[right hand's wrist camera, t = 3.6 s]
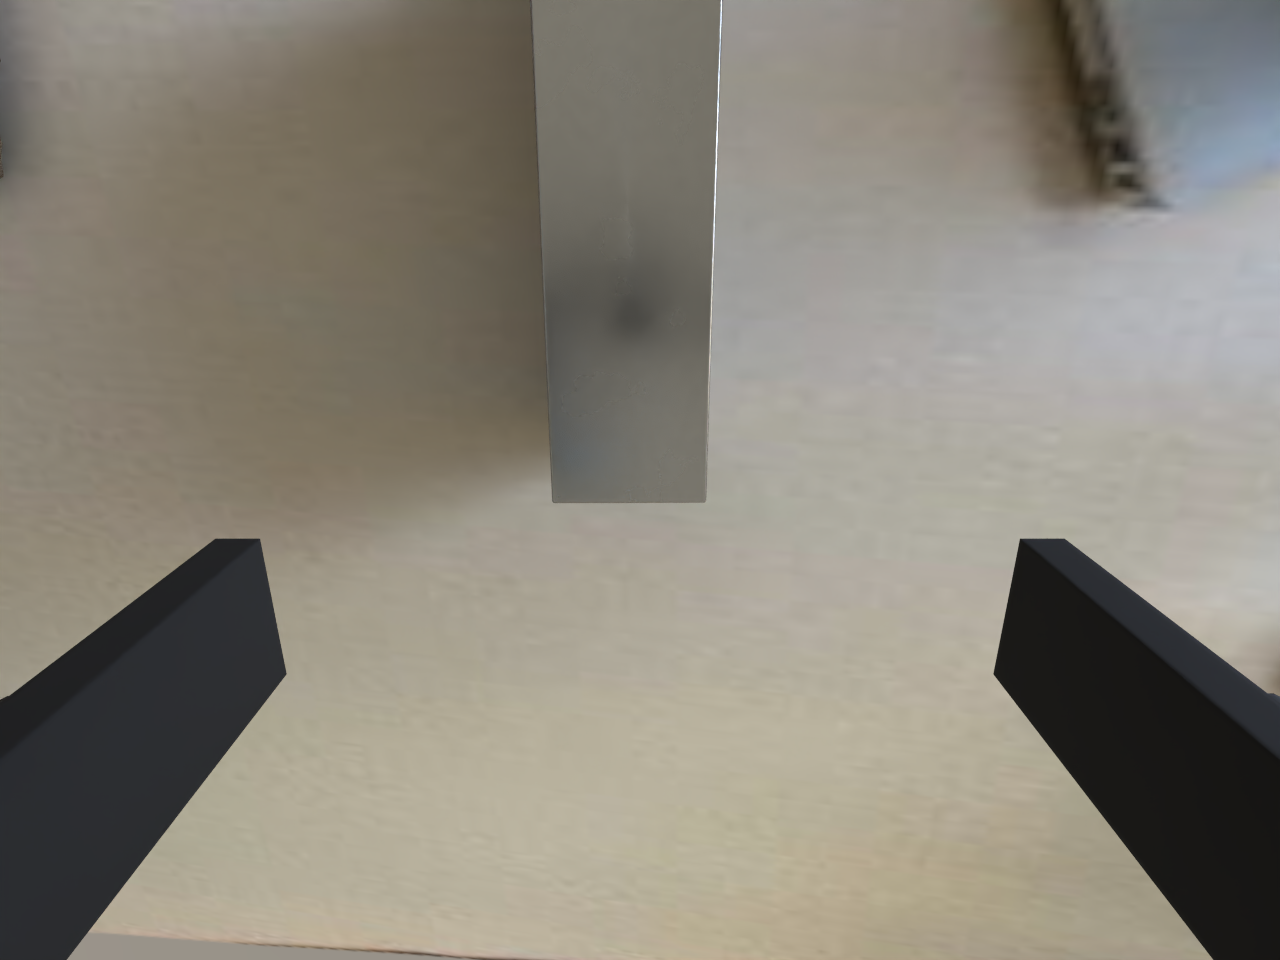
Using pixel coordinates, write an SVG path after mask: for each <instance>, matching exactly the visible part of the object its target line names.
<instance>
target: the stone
mask: <svg viewBox="0 0 1280 960" xmlns="http://www.w3.org/2000/svg"><path fill="white" fill-rule="evenodd" d="M0 62H1V60H0ZM1 151H2V142H1V140H0V179H1V178H2V177H3V168H2V162H1Z"/></svg>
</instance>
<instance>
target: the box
mask: <svg viewBox="0 0 1280 960" xmlns="http://www.w3.org/2000/svg"><path fill="white" fill-rule="evenodd" d="M722 5H723V0H530V9H531V31H532V54H533V76H534V99H535V122H536V144H537V167H538V189H539V212H540V234H541V257H542V280H543V302H544V325H545V347H546V370H547V393H548V415H549V438H550V460H551V483H552V501H553V503H700V502H705V501H706V485H707V455H708V425H709V395H710V365H711V335H712V305H713V275H714V245H715V215H716V185H717V155H718V125H719V95H720V65H721V35H722Z"/></svg>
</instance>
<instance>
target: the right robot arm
mask: <svg viewBox="0 0 1280 960" xmlns="http://www.w3.org/2000/svg"><path fill="white" fill-rule="evenodd" d="M285 675H286V669H285V664H284V659H283V654H282V649H281V644H280V639H279V634H278V628H277V623H276V618H275V613H274V608H273V603H272V598H271V593H270V588H269V583H268V578H267V572H266V567H265V562H264V557H263V552H262V547H261V542H260V539H215V540H213V541H212V542H211V543H209V544H208V545H207V546H205V547H204V548H203V549H201V550H200V551H199V552H198V553H196V554H195V555H194V556H192V557H191V558H190V559H188V560H187V561H186V562H184V563H183V564H182V565H180V566H179V567H178V568H177V569H175V570H174V571H173V572H171V573H170V574H169V575H167V576H166V577H165V578H163V579H162V580H161V581H159V582H158V583H157V584H156V585H154V586H153V587H152V588H150V589H149V590H148V591H146V592H145V593H144V594H142V595H141V596H140V597H138V598H137V599H136V600H135V601H133V602H132V603H131V604H129V605H128V606H127V607H125V608H124V609H123V610H121V611H120V612H119V613H117V614H116V615H115V616H114V617H112V618H111V619H110V620H108V621H107V622H106V623H104V624H103V625H102V626H100V627H99V628H98V629H97V630H95V631H94V632H93V633H91V634H90V635H89V636H87V637H86V638H85V639H83V640H82V641H81V642H79V643H78V644H77V645H76V646H74V647H73V648H72V649H70V650H69V651H68V652H66V653H65V654H64V655H62V656H61V657H60V658H58V659H57V660H56V661H55V662H53V663H52V664H51V665H49V666H48V667H47V668H45V669H44V670H43V671H41V672H40V673H39V674H37V675H36V676H35V677H34V678H32V679H31V680H30V681H28V682H27V683H26V684H24V685H23V686H22V687H20V688H19V689H18V690H16V691H15V692H14V693H13V694H11V695H10V696H7V697H5V698H3V699H1V700H0V960H67V959H68V957H69V956H70V955H71V953H72V952H73V951H74V949H75V948H76V947H77V946H78V944H79V943H80V942H81V940H82V939H83V938H84V936H85V935H86V934H87V933H88V931H89V930H90V929H91V927H92V926H93V925H94V923H95V922H96V921H97V920H98V918H99V917H100V916H101V914H102V913H103V912H104V911H105V909H106V908H107V907H108V905H109V904H110V903H111V901H112V900H113V899H114V898H115V896H116V895H117V894H118V892H119V891H120V890H121V888H122V887H123V886H124V885H125V883H126V882H127V881H128V879H129V878H130V877H131V875H132V874H133V873H134V872H135V870H136V869H137V868H138V866H139V865H140V864H141V862H142V861H143V860H144V859H145V857H146V856H147V855H148V853H149V852H150V851H151V849H152V848H153V847H154V846H155V844H156V843H157V842H158V840H159V839H160V838H161V836H162V835H163V834H164V833H165V831H166V830H167V829H168V827H169V826H170V825H171V824H172V822H173V821H174V820H175V818H176V817H177V816H178V814H179V813H180V812H181V811H182V809H183V808H184V807H185V805H186V804H187V803H188V801H189V800H190V799H191V798H192V796H193V795H194V794H195V792H196V791H197V790H198V788H199V787H200V786H201V785H202V783H203V782H204V781H205V779H206V778H207V777H208V775H209V774H210V773H211V772H212V770H213V769H214V768H215V766H216V765H217V764H218V762H219V761H220V760H221V759H222V757H223V756H224V755H225V753H226V752H227V751H228V749H229V748H230V747H231V746H232V744H233V743H234V742H235V740H236V739H237V738H238V737H239V735H240V734H241V733H242V731H243V730H244V729H245V727H246V726H247V725H248V724H249V722H250V721H251V720H252V718H253V717H254V716H255V714H256V713H257V712H258V711H259V709H260V708H261V707H262V705H263V704H264V703H265V701H266V700H267V699H268V698H269V696H270V695H271V694H272V692H273V691H274V690H275V688H276V687H277V686H278V685H279V683H280V682H281V681H282V679H283V678H284V677H285ZM994 675H995V677H996V678H997V679H998V681H999V682H1000V683H1001V685H1002V686H1003V687H1004V688H1005V690H1006V691H1007V692H1008V694H1009V695H1010V696H1011V698H1012V699H1013V700H1014V701H1015V703H1016V704H1017V705H1018V707H1019V708H1020V709H1021V711H1022V712H1023V713H1024V714H1025V716H1026V717H1027V718H1028V720H1029V721H1030V722H1031V724H1032V725H1033V726H1034V727H1035V729H1036V730H1037V731H1038V733H1039V734H1040V735H1041V737H1042V738H1043V739H1044V740H1045V742H1046V743H1047V744H1048V746H1049V747H1050V748H1051V749H1052V751H1053V752H1054V753H1055V755H1056V756H1057V757H1058V759H1059V760H1060V761H1061V762H1062V764H1063V765H1064V766H1065V768H1066V769H1067V770H1068V772H1069V773H1070V774H1071V775H1072V777H1073V778H1074V779H1075V781H1076V782H1077V783H1078V785H1079V786H1080V787H1081V788H1082V790H1083V791H1084V792H1085V794H1086V795H1087V796H1088V798H1089V799H1090V800H1091V801H1092V803H1093V804H1094V805H1095V807H1096V808H1097V809H1098V811H1099V812H1100V813H1101V814H1102V816H1103V817H1104V818H1105V820H1106V821H1107V822H1108V824H1109V825H1110V826H1111V827H1112V829H1113V830H1114V831H1115V833H1116V834H1117V835H1118V836H1119V838H1120V839H1121V840H1122V842H1123V843H1124V844H1125V846H1126V847H1127V848H1128V849H1129V851H1130V852H1131V853H1132V855H1133V856H1134V857H1135V859H1136V860H1137V861H1138V862H1139V864H1140V865H1141V866H1142V868H1143V869H1144V870H1145V872H1146V873H1147V874H1148V875H1149V877H1150V878H1151V879H1152V881H1153V882H1154V883H1155V885H1156V886H1157V887H1158V888H1159V890H1160V891H1161V892H1162V894H1163V895H1164V896H1165V898H1166V899H1167V900H1168V901H1169V903H1170V904H1171V905H1172V907H1173V908H1174V909H1175V911H1176V912H1177V913H1178V914H1179V916H1180V917H1181V918H1182V920H1183V921H1184V922H1185V923H1186V925H1187V926H1188V927H1189V929H1190V930H1191V931H1192V933H1193V934H1194V935H1195V936H1196V938H1197V939H1198V940H1199V942H1200V943H1201V944H1202V946H1203V947H1204V948H1205V949H1206V951H1207V952H1208V953H1209V955H1210V956H1211V957H1212V959H1213V960H1280V697H1279V696H1277V695H1275V694H1267V693H1266V692H1265V691H1264V690H1262V689H1261V688H1260V687H1258V686H1257V685H1256V684H1254V683H1253V682H1252V681H1250V680H1249V679H1248V678H1246V677H1245V676H1244V675H1243V674H1241V673H1240V672H1239V671H1237V670H1236V669H1235V668H1233V667H1232V666H1231V665H1229V664H1228V663H1227V662H1225V661H1224V660H1223V659H1222V658H1220V657H1219V656H1218V655H1216V654H1215V653H1214V652H1212V651H1211V650H1210V649H1208V648H1207V647H1206V646H1204V645H1203V644H1202V643H1201V642H1199V641H1198V640H1197V639H1195V638H1194V637H1193V636H1191V635H1190V634H1189V633H1187V632H1186V631H1185V630H1183V629H1182V628H1181V627H1180V626H1178V625H1177V624H1176V623H1174V622H1173V621H1172V620H1170V619H1169V618H1168V617H1166V616H1165V615H1164V614H1163V613H1161V612H1160V611H1159V610H1157V609H1156V608H1155V607H1153V606H1152V605H1151V604H1149V603H1148V602H1147V601H1145V600H1144V599H1143V598H1142V597H1140V596H1139V595H1138V594H1136V593H1135V592H1134V591H1132V590H1131V589H1130V588H1128V587H1127V586H1126V585H1124V584H1123V583H1122V582H1121V581H1119V580H1118V579H1117V578H1115V577H1114V576H1113V575H1111V574H1110V573H1109V572H1107V571H1106V570H1105V569H1103V568H1102V567H1101V566H1100V565H1098V564H1097V563H1096V562H1094V561H1093V560H1092V559H1090V558H1089V557H1088V556H1086V555H1085V554H1084V553H1082V552H1081V551H1080V550H1079V549H1077V548H1076V547H1075V546H1073V545H1072V544H1071V543H1069V542H1068V541H1067V540H1065V539H1020V542H1019V547H1018V552H1017V557H1016V562H1015V567H1014V572H1013V578H1012V583H1011V588H1010V593H1009V598H1008V603H1007V608H1006V613H1005V618H1004V623H1003V628H1002V634H1001V639H1000V644H999V649H998V654H997V659H996V664H995V669H994Z"/></svg>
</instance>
